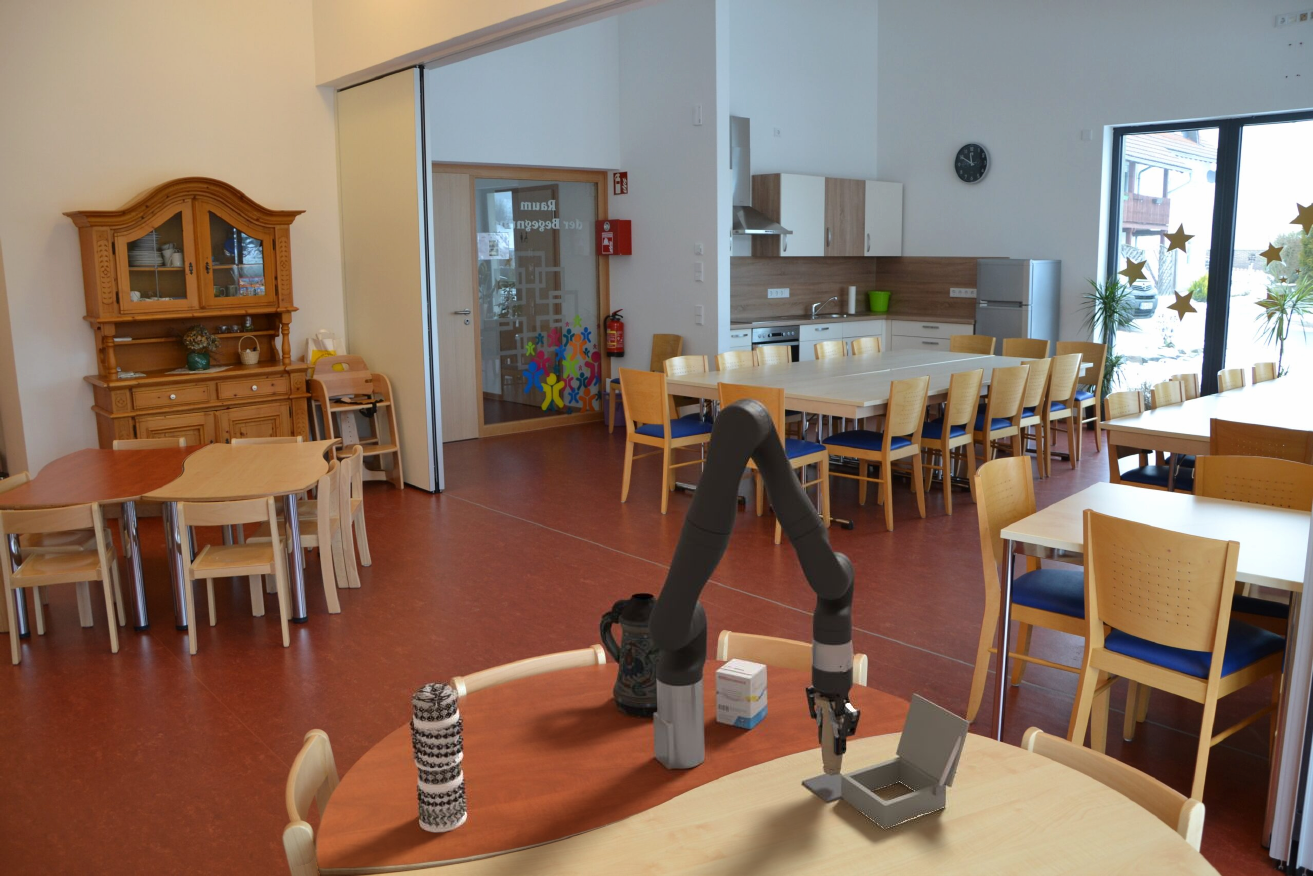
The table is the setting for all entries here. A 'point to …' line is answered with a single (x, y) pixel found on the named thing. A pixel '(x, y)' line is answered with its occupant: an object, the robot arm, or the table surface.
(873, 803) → the case
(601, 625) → the beer stein
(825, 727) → the handle
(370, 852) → the table surface
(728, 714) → the ink box
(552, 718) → the table surface
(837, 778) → the mat
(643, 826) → the table surface
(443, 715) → the decorative candle
